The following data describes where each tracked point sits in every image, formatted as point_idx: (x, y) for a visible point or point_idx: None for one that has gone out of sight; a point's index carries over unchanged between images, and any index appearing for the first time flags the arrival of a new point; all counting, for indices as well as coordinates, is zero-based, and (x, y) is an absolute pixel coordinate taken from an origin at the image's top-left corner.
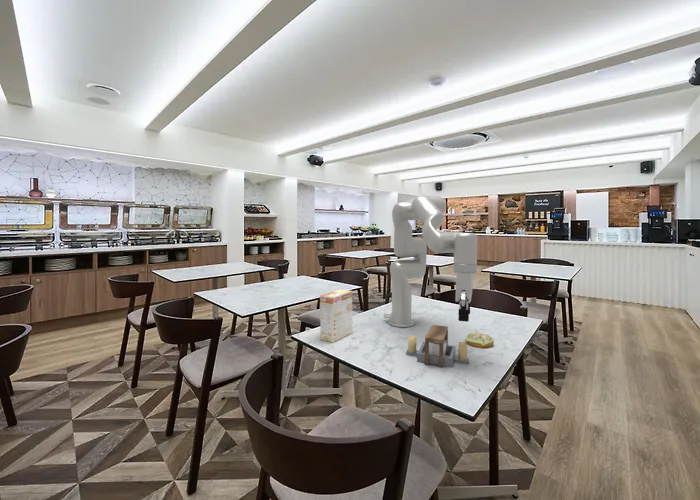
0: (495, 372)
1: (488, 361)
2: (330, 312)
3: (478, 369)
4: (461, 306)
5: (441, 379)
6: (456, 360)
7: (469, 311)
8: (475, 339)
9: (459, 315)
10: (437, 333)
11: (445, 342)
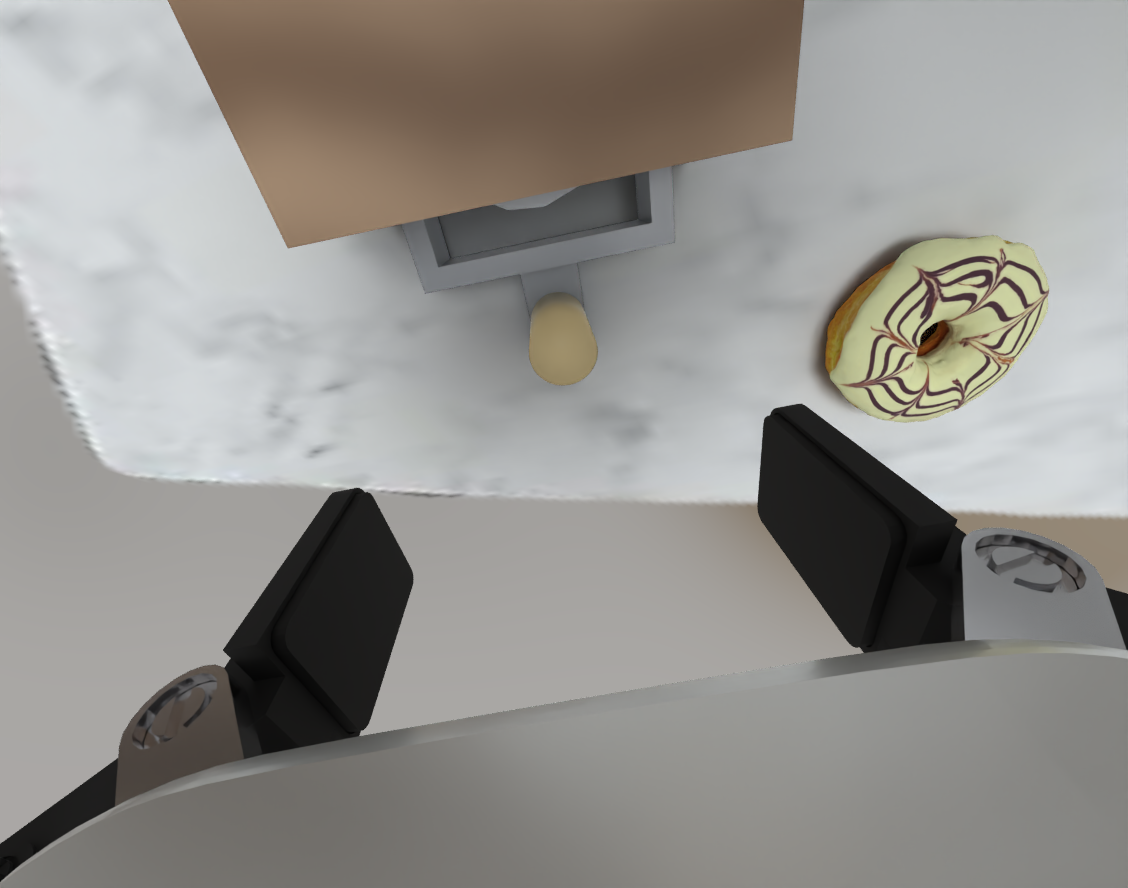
0: (537, 470)
1: (650, 423)
2: None
3: (523, 404)
4: (41, 834)
5: (258, 268)
6: (523, 287)
7: (778, 539)
8: (881, 334)
9: (302, 556)
10: (443, 97)
11: (516, 201)
